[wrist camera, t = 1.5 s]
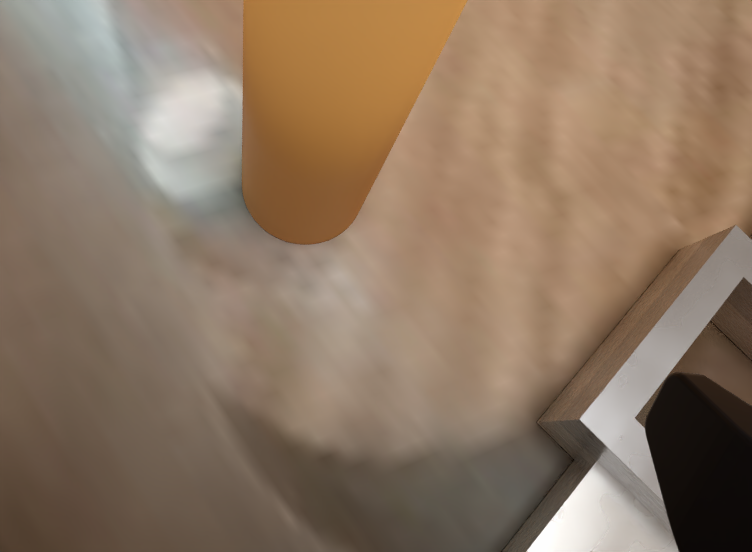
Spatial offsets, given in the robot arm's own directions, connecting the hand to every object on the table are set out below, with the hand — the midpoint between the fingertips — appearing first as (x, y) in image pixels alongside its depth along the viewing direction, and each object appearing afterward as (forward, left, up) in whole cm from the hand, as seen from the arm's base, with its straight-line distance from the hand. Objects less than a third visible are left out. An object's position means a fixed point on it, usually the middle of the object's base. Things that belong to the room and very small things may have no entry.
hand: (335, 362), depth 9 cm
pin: (+6, +5, -13) cm, 15 cm away
